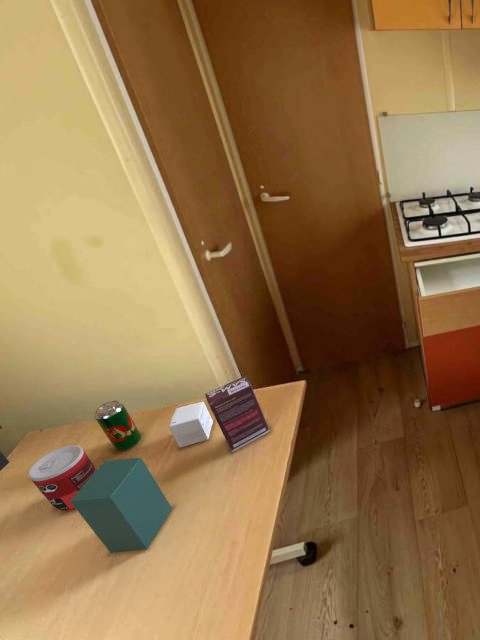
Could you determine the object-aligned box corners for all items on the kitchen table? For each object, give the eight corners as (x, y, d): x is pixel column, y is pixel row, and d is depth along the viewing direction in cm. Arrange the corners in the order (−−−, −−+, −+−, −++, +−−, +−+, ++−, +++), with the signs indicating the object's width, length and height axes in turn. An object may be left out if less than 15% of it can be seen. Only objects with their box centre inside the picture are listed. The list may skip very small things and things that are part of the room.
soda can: (129, 433, 104) (108, 398, 99) (147, 435, 104) (127, 400, 98) (109, 450, 100) (86, 414, 94) (128, 453, 99) (105, 417, 94)
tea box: (69, 501, 73) (104, 460, 80) (110, 553, 80) (139, 511, 87) (110, 497, 73) (141, 457, 80) (147, 549, 81) (172, 508, 88)
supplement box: (264, 421, 108) (246, 374, 100) (270, 432, 104) (252, 385, 97) (225, 441, 102) (203, 393, 95) (231, 453, 99) (208, 405, 92)
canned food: (54, 496, 90) (26, 462, 85) (103, 471, 95) (80, 438, 90) (57, 521, 85) (28, 487, 80) (108, 493, 90) (84, 459, 85)
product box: (208, 440, 102) (198, 418, 99) (179, 448, 100) (167, 427, 97) (213, 421, 107) (204, 400, 104) (185, 429, 105) (174, 408, 102)
